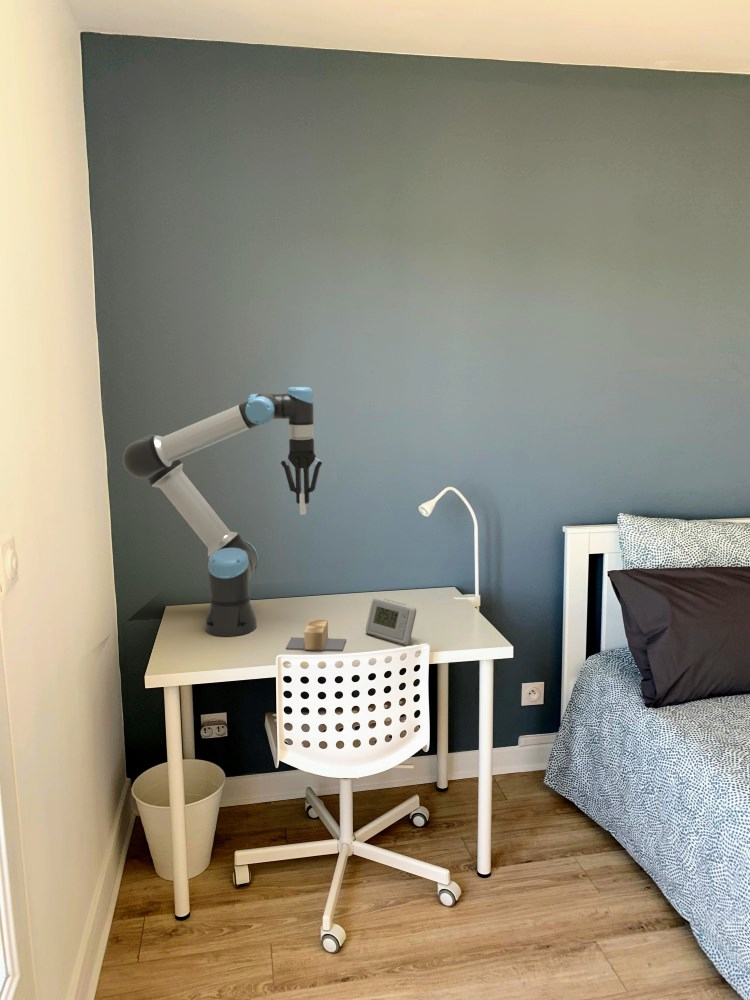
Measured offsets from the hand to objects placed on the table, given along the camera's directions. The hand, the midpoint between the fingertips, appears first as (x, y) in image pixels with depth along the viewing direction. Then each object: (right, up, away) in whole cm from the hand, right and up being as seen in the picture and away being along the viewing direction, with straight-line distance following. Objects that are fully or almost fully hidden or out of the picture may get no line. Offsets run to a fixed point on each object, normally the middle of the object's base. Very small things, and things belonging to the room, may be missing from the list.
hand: (303, 513), depth 240 cm
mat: (+6, -37, -20) cm, 43 cm away
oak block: (+6, -33, -16) cm, 37 cm away
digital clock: (+27, -36, -15) cm, 48 cm away
